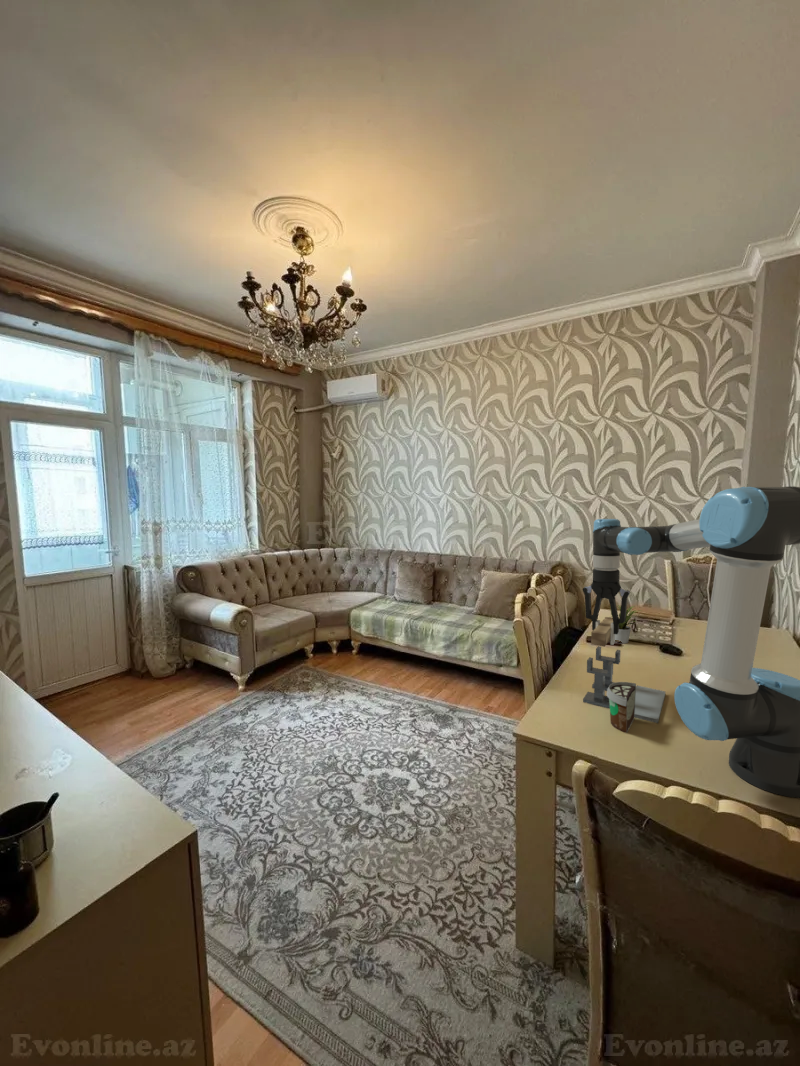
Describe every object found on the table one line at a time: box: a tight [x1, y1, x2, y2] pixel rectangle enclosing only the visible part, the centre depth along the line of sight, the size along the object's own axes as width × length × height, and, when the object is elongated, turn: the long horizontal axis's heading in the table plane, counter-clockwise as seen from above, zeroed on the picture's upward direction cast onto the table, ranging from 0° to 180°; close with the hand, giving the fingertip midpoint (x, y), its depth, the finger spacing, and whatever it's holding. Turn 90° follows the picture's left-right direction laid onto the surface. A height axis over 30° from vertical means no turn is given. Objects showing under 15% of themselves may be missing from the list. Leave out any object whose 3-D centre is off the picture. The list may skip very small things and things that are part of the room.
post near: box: [582, 656, 614, 710], centre depth 133 cm, size 8×6×13 cm
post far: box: [591, 645, 621, 692], centre depth 142 cm, size 8×6×13 cm
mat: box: [634, 684, 667, 724], centre depth 131 cm, size 21×8×1 cm, turn 144°
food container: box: [605, 681, 637, 734], centre depth 121 cm, size 12×6×10 cm, turn 141°
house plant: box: [608, 604, 642, 644], centre depth 186 cm, size 14×14×16 cm
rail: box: [590, 616, 613, 647], centre depth 136 cm, size 4×20×4 cm, turn 144°
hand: (605, 642), depth 136 cm, fingers closed on rail, 4 cm apart
